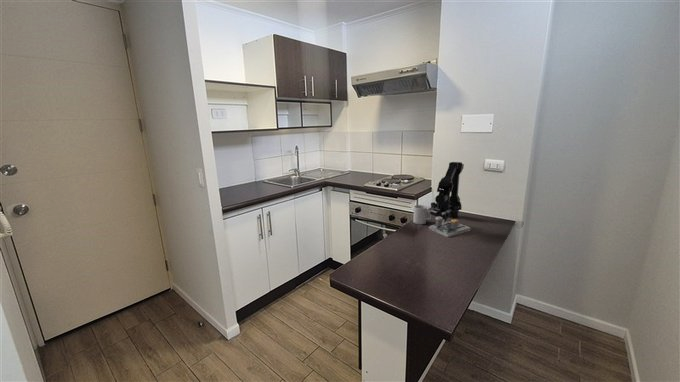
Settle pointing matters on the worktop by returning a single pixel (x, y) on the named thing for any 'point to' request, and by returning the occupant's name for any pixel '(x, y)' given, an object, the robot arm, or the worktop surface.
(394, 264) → the worktop surface
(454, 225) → the orange fader
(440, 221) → the cream fader
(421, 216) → the mug
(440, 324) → the worktop surface
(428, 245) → the worktop surface
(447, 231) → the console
